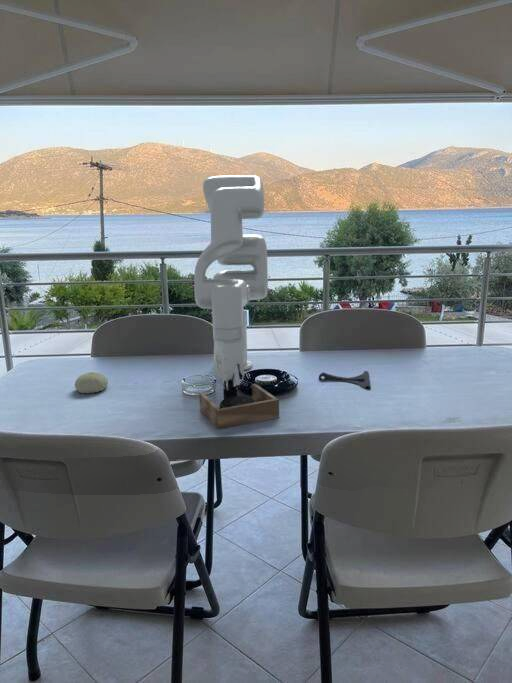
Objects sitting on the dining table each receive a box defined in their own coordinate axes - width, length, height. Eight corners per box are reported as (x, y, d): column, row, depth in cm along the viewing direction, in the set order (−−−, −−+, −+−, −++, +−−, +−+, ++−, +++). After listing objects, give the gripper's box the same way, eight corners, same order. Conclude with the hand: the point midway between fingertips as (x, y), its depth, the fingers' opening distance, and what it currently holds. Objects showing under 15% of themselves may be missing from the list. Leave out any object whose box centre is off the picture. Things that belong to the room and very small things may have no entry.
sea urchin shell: (116, 379, 143) (102, 366, 137) (106, 403, 140) (92, 391, 133) (90, 376, 146) (76, 363, 140) (80, 400, 142) (64, 388, 136)
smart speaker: (260, 421, 115) (260, 405, 115) (223, 425, 113) (223, 409, 112) (251, 408, 124) (251, 393, 123) (217, 411, 122) (216, 396, 121)
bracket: (320, 374, 152) (320, 365, 151) (368, 376, 149) (368, 367, 149) (317, 389, 138) (317, 380, 138) (370, 391, 136) (370, 382, 135)
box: (200, 409, 123) (199, 393, 122) (256, 399, 129) (255, 383, 128) (218, 429, 111) (217, 410, 110) (279, 417, 117) (278, 399, 116)
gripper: (204, 329, 125) (207, 396, 129) (224, 341, 112) (227, 415, 116) (231, 326, 128) (233, 392, 132) (254, 337, 115) (256, 410, 119)
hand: (230, 402), depth 124 cm, fingers closed
